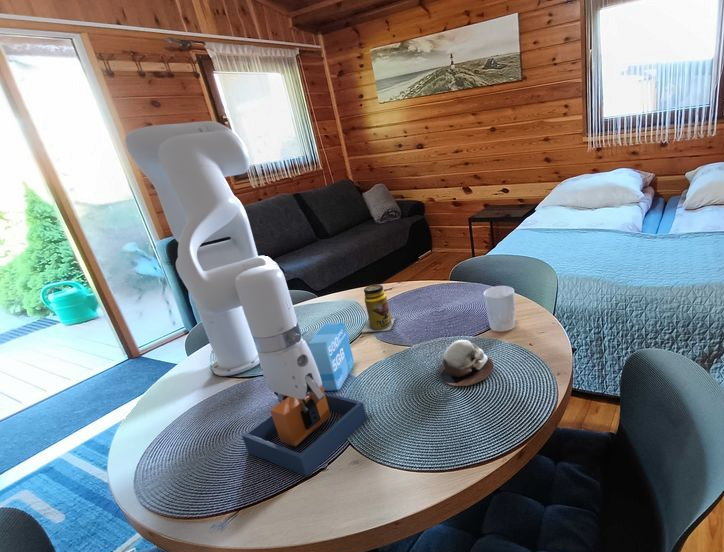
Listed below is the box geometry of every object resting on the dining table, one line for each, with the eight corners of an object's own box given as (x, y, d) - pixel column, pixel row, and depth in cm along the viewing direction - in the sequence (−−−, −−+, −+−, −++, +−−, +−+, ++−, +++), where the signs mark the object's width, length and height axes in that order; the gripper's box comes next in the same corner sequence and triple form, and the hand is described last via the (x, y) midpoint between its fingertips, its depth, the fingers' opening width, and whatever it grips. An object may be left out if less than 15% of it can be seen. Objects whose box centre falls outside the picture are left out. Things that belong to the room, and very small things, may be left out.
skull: (472, 345, 105) (485, 326, 96) (492, 383, 101) (507, 367, 93) (428, 361, 99) (438, 343, 91) (447, 403, 95) (459, 388, 87)
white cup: (504, 316, 120) (501, 283, 116) (523, 325, 114) (520, 290, 110) (481, 326, 116) (477, 292, 112) (500, 336, 110) (496, 300, 106)
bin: (248, 452, 80) (241, 435, 79) (311, 402, 93) (306, 387, 91) (306, 476, 73) (300, 458, 71) (367, 418, 85) (362, 402, 84)
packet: (280, 441, 80) (269, 410, 77) (316, 411, 87) (307, 382, 84) (295, 446, 78) (284, 415, 75) (331, 415, 85) (322, 386, 82)
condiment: (390, 330, 121) (382, 290, 116) (360, 333, 121) (351, 293, 117) (395, 318, 127) (387, 281, 123) (367, 321, 128) (358, 284, 124)
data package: (338, 393, 95) (325, 345, 90) (318, 394, 95) (304, 347, 91) (354, 363, 106) (344, 319, 101) (337, 364, 106) (325, 321, 102)
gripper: (328, 333, 74) (351, 419, 81) (264, 321, 82) (290, 400, 89) (294, 355, 68) (321, 446, 75) (228, 340, 76) (258, 423, 83)
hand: (304, 420), depth 82 cm, fingers closed on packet, 4 cm apart
